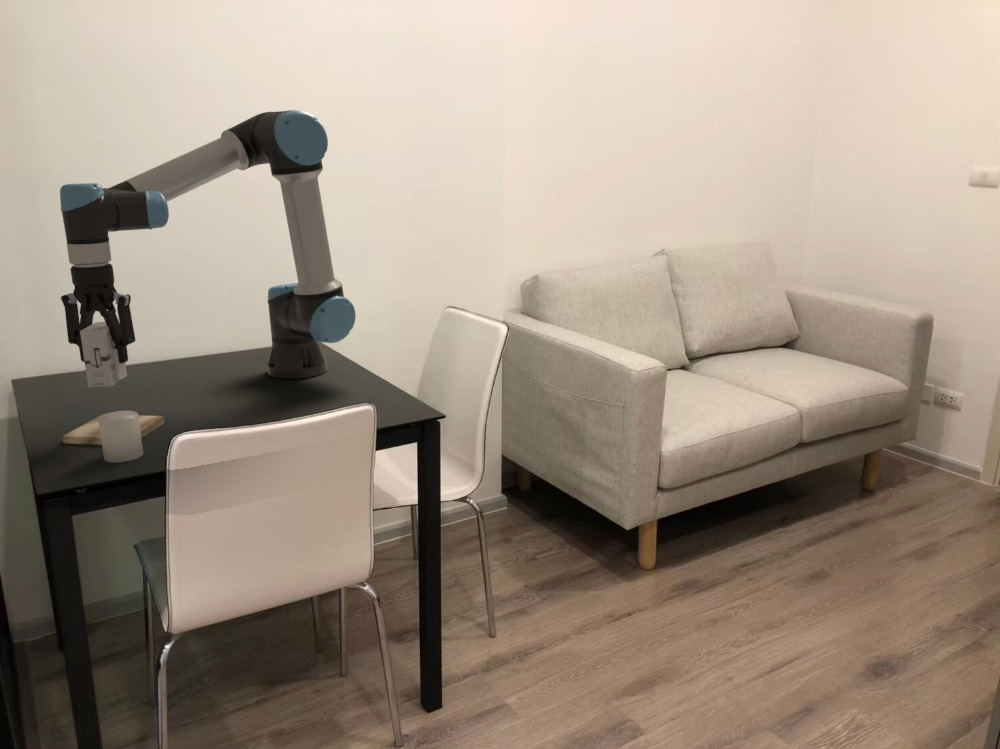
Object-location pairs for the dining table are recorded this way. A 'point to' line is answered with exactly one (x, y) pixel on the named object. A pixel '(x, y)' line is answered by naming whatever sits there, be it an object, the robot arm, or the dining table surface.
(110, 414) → the white frosted cylinder
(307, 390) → the dining table surface
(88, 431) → the birch board
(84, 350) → the ink box
